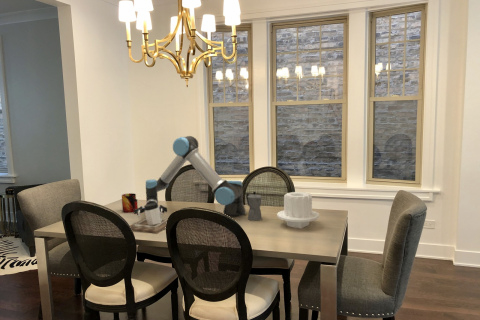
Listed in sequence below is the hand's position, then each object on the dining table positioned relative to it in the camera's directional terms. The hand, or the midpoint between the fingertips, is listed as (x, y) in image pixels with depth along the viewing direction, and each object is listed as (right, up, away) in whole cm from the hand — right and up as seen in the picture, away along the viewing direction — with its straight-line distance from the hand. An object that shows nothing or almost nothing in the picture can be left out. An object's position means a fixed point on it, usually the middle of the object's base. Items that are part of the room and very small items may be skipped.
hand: (150, 214), depth 231 cm
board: (0, -8, +3) cm, 9 cm away
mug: (-23, -4, +42) cm, 48 cm away
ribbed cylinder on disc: (+90, -7, -1) cm, 90 cm away
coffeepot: (+64, -5, +15) cm, 66 cm away
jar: (+3, -6, +2) cm, 7 cm away
